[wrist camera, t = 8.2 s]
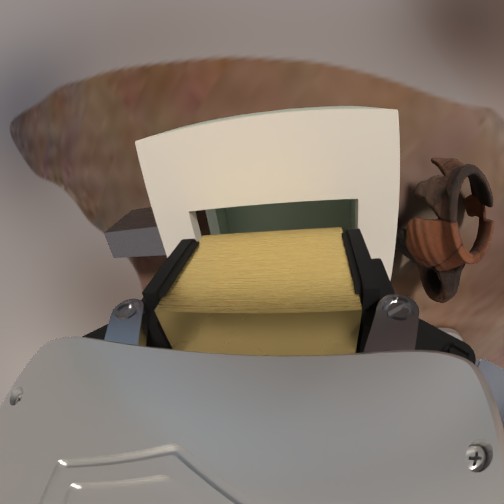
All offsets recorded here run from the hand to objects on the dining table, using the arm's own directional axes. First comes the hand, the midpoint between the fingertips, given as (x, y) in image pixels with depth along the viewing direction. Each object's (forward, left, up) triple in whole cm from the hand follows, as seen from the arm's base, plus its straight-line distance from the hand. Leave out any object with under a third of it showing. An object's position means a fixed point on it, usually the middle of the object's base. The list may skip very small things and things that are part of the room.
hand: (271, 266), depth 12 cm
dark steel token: (-2, +12, -12) cm, 17 cm away
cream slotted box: (0, 0, -12) cm, 12 cm away
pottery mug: (-3, -13, -12) cm, 18 cm away
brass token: (0, 0, -1) cm, 1 cm away
